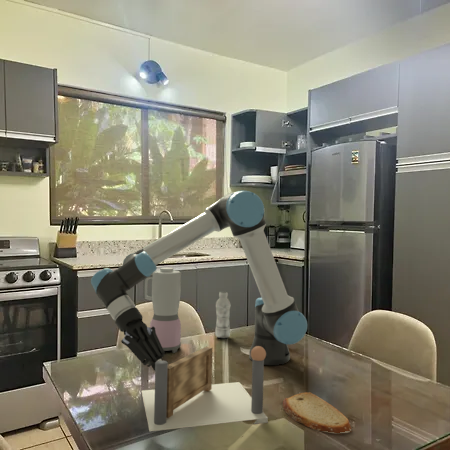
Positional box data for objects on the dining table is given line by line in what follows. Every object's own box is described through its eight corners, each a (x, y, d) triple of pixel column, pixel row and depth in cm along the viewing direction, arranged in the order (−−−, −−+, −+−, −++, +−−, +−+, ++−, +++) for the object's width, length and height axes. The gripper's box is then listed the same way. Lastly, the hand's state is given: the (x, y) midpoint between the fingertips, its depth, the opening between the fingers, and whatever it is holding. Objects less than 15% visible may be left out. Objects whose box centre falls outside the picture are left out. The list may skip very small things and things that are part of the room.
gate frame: (240, 385, 130) (242, 326, 130) (269, 422, 107) (271, 350, 107) (141, 394, 122) (142, 331, 121) (149, 436, 99) (151, 358, 98)
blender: (184, 345, 170) (186, 267, 170) (176, 354, 158) (178, 270, 158) (146, 342, 172) (148, 265, 172) (136, 352, 160) (138, 269, 160)
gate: (168, 418, 105) (169, 368, 104) (161, 416, 106) (163, 367, 105) (211, 389, 123) (212, 347, 123) (205, 387, 124) (206, 346, 124)
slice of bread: (353, 437, 101) (353, 422, 101) (278, 428, 105) (279, 413, 105) (347, 406, 118) (348, 393, 118) (283, 398, 122) (284, 385, 122)
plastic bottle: (228, 340, 179) (229, 293, 178) (213, 339, 180) (214, 293, 180) (231, 336, 185) (232, 291, 185) (216, 335, 186) (217, 290, 186)
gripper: (133, 317, 132) (175, 381, 124) (102, 326, 120) (146, 397, 112) (146, 302, 129) (190, 366, 121) (116, 310, 118) (162, 381, 110)
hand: (169, 381), depth 117 cm, fingers closed
